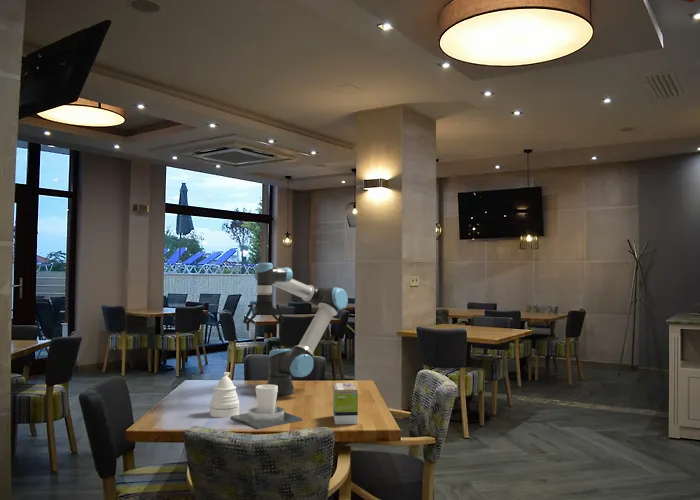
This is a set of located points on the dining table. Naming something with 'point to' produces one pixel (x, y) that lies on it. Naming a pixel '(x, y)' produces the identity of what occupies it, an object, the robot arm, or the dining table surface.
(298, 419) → the duct flange
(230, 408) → the honey pot
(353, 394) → the tea box
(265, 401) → the foam cup
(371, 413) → the dining table surface
